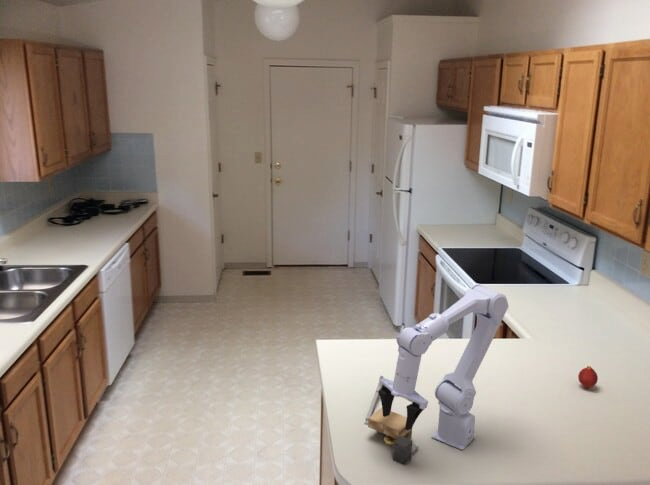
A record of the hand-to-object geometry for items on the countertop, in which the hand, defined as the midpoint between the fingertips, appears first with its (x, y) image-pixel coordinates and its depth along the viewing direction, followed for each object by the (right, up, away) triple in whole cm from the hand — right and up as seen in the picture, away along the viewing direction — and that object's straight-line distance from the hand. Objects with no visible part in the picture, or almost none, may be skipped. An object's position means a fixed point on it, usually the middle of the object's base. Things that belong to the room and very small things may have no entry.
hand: (397, 422), depth 151 cm
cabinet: (-1, -8, +10) cm, 13 cm away
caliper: (-4, -4, +26) cm, 27 cm away
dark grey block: (+3, -10, +3) cm, 11 cm away
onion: (+67, -1, +40) cm, 78 cm away
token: (-1, -8, +9) cm, 12 cm away
